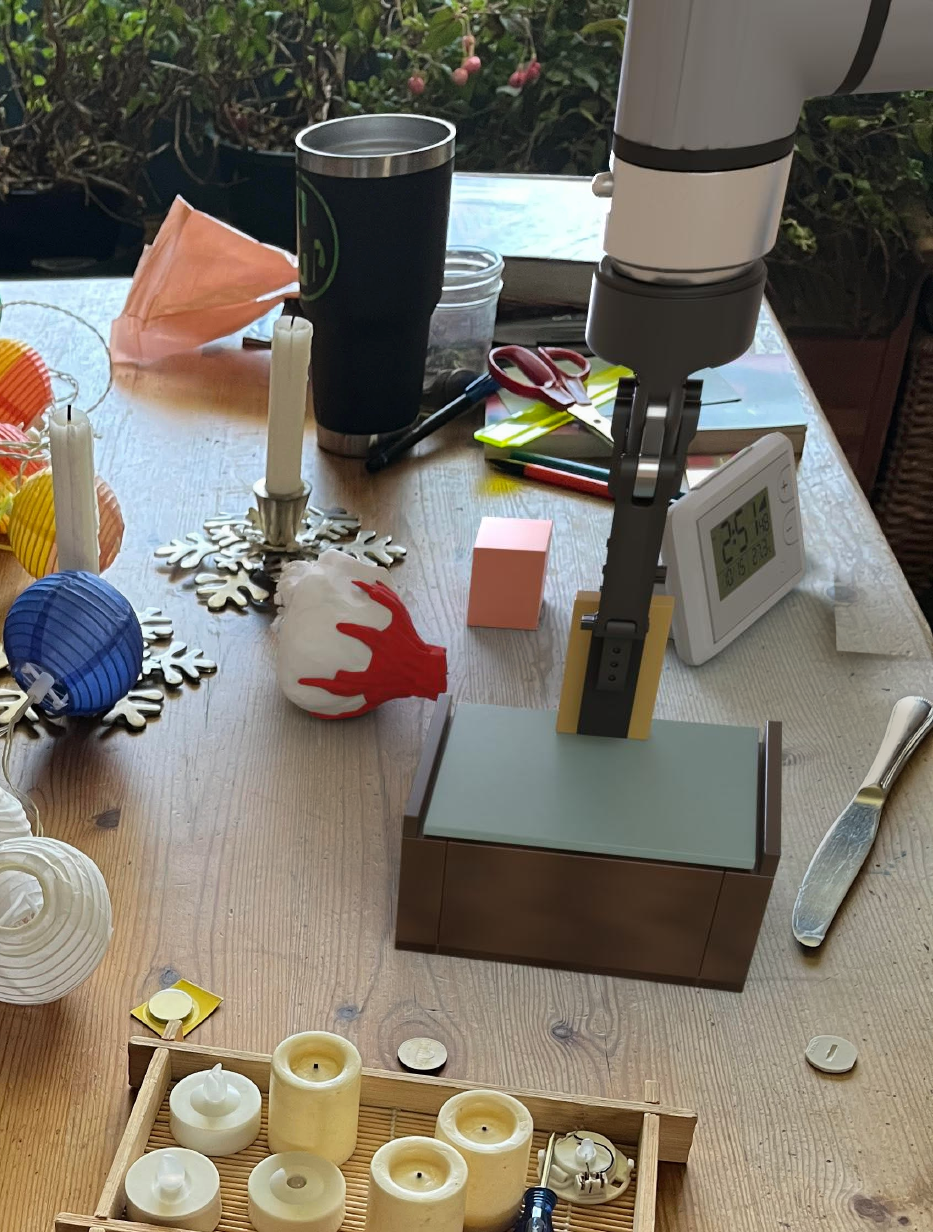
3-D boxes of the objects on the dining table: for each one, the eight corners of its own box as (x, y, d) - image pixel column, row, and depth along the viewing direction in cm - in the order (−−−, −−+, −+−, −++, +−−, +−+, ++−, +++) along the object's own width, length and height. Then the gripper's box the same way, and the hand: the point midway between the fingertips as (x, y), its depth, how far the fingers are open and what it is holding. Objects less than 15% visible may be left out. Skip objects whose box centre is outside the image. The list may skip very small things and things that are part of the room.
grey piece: (757, 736, 87) (793, 592, 81) (753, 869, 78) (793, 720, 72) (456, 710, 91) (469, 571, 85) (422, 834, 83) (434, 690, 77)
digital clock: (691, 680, 106) (722, 530, 99) (589, 634, 112) (611, 488, 104) (840, 599, 112) (880, 452, 105) (736, 559, 118) (767, 416, 110)
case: (747, 857, 92) (782, 720, 86) (742, 993, 84) (781, 854, 77) (428, 823, 97) (439, 692, 91) (394, 949, 89) (403, 815, 82)
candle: (281, 633, 114) (472, 697, 109) (210, 707, 107) (410, 778, 103) (297, 517, 107) (501, 580, 103) (222, 588, 101) (436, 658, 96)
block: (543, 597, 116) (553, 519, 112) (536, 630, 113) (546, 551, 108) (475, 593, 117) (482, 516, 113) (466, 625, 114) (473, 547, 110)
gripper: (609, 201, 76) (550, 639, 93) (580, 318, 66) (519, 788, 82) (772, 201, 74) (682, 648, 91) (768, 321, 64) (667, 803, 80)
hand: (604, 714), depth 86 cm, fingers open, 3 cm apart
